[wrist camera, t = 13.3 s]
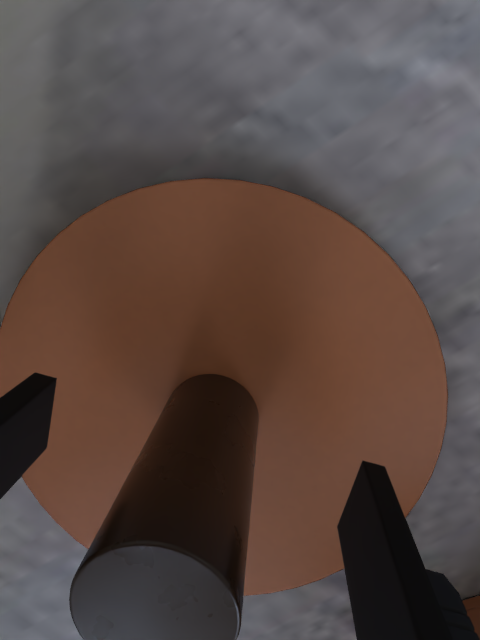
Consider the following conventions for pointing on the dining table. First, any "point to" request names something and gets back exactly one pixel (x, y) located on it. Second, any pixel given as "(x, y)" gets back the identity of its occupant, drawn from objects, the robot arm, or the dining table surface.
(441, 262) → the dining table surface
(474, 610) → the pot
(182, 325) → the lid
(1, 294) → the dining table surface
